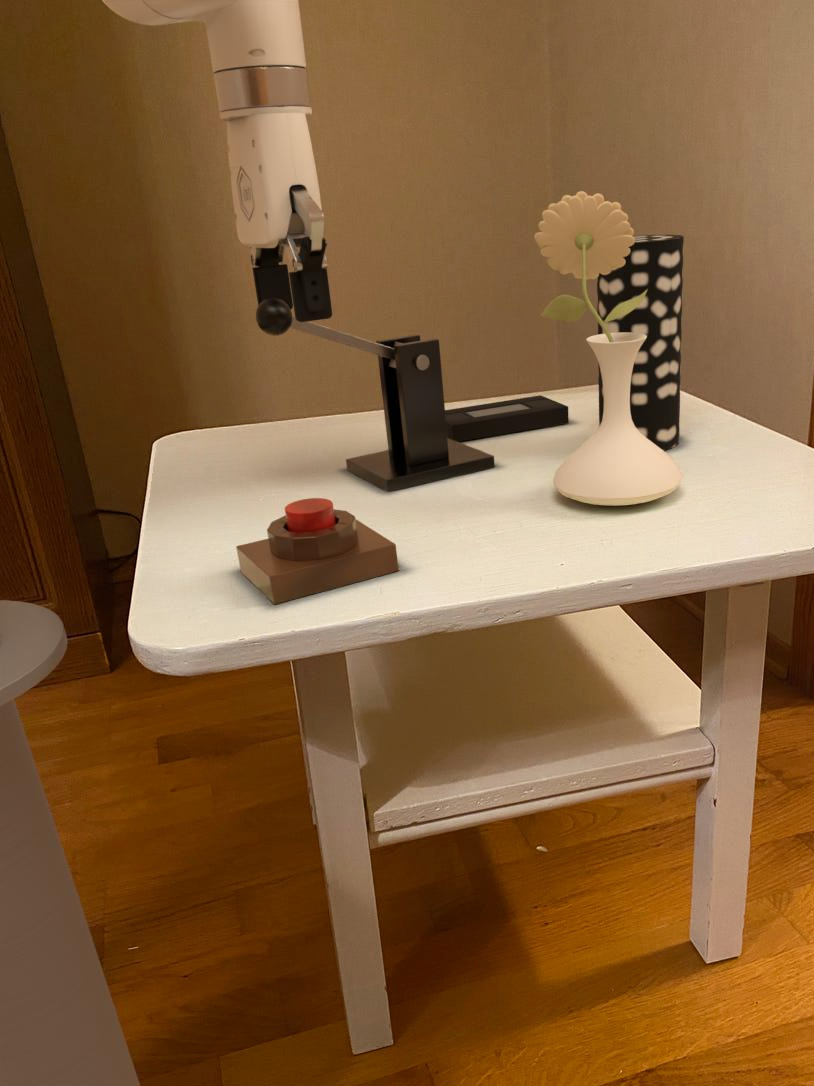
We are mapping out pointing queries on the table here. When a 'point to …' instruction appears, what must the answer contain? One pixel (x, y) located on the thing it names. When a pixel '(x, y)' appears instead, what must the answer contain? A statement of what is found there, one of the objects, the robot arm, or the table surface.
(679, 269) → the white-spotted black cylinder
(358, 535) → the button block
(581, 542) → the table surface
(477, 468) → the bracket
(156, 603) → the table surface
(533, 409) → the vhs tape
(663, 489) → the flower in vase
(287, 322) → the lever
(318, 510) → the button
